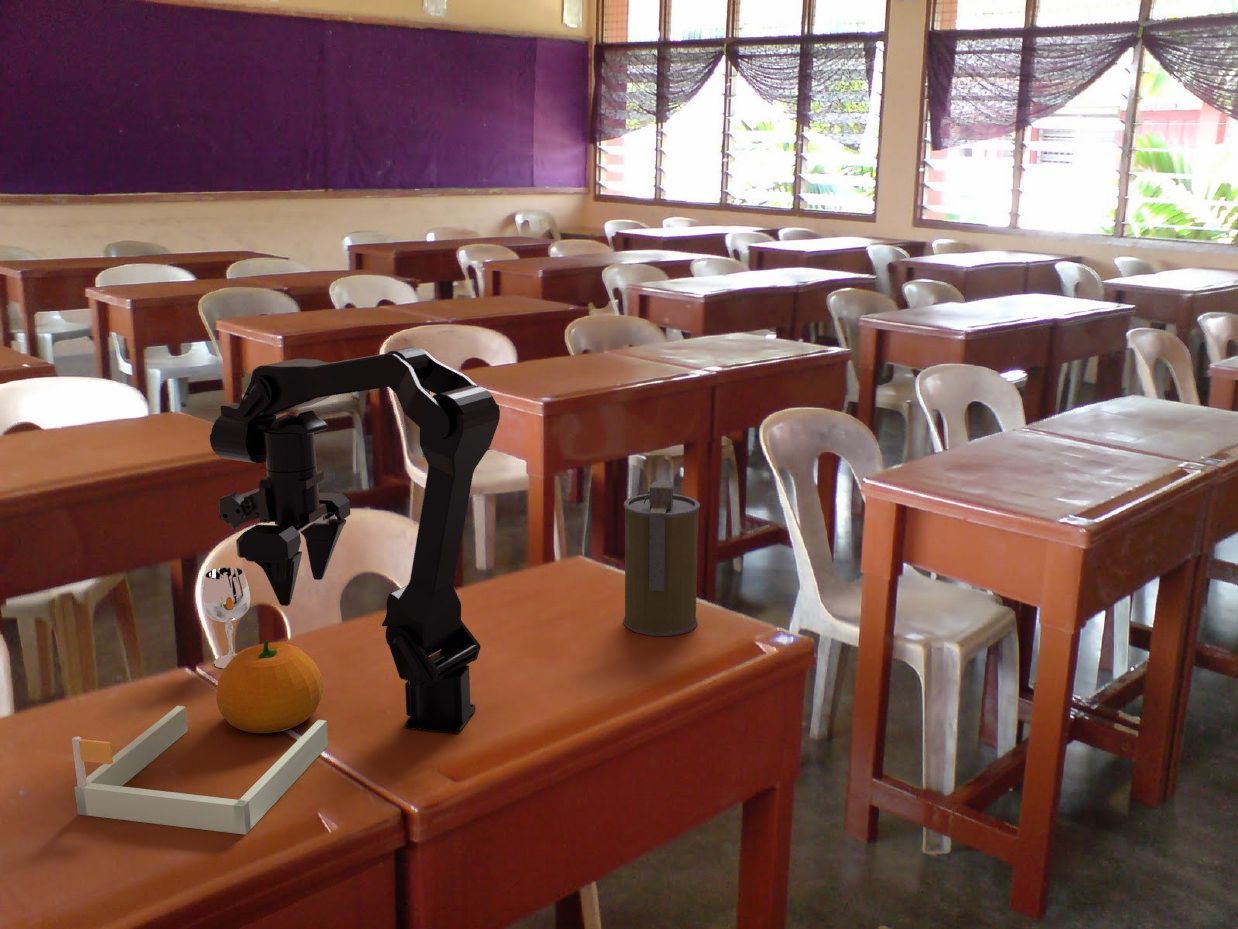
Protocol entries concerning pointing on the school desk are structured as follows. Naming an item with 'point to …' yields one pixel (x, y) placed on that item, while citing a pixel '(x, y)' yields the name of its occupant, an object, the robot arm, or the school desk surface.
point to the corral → (177, 809)
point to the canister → (661, 562)
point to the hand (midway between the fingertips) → (302, 591)
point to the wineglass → (226, 601)
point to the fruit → (269, 688)
